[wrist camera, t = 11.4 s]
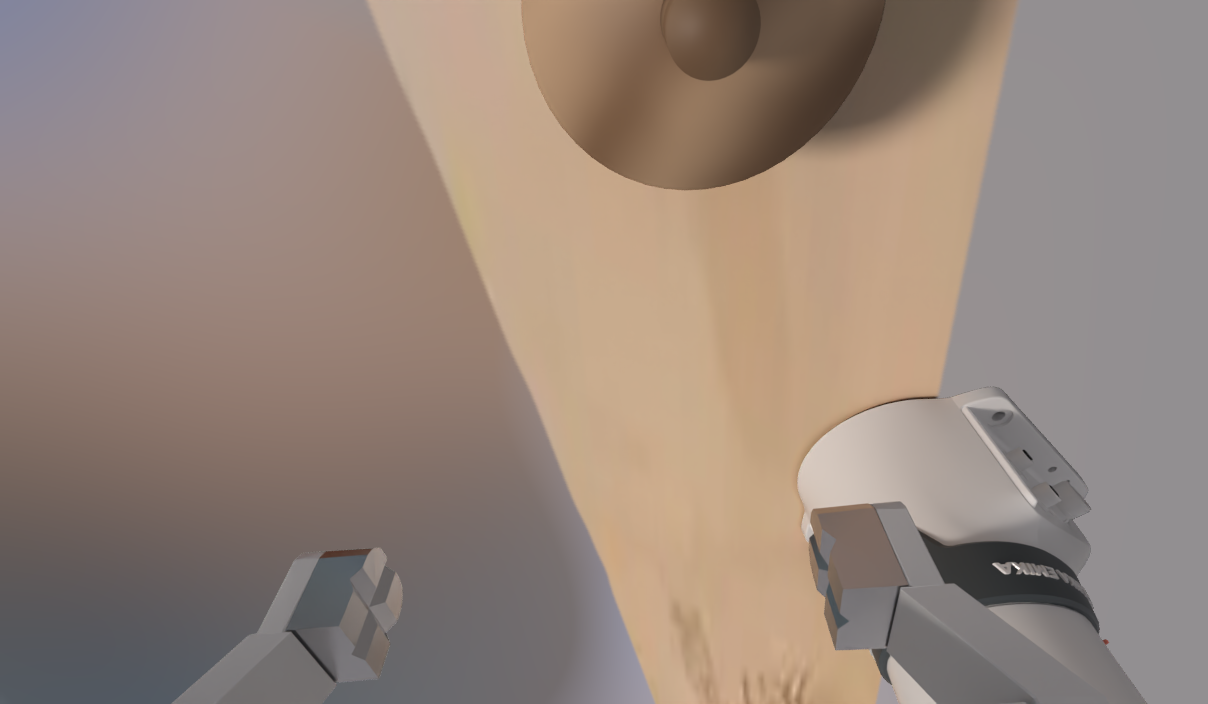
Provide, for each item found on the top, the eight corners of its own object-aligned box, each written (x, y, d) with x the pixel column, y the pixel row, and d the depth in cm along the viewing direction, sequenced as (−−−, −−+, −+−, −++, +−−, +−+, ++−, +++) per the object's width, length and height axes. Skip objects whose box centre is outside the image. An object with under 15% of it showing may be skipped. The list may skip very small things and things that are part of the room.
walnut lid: (961, -61, 21) (1021, -54, 18) (729, 234, 28) (744, 274, 24) (649, -347, 17) (658, -402, 14) (467, 78, 24) (446, 104, 21)
